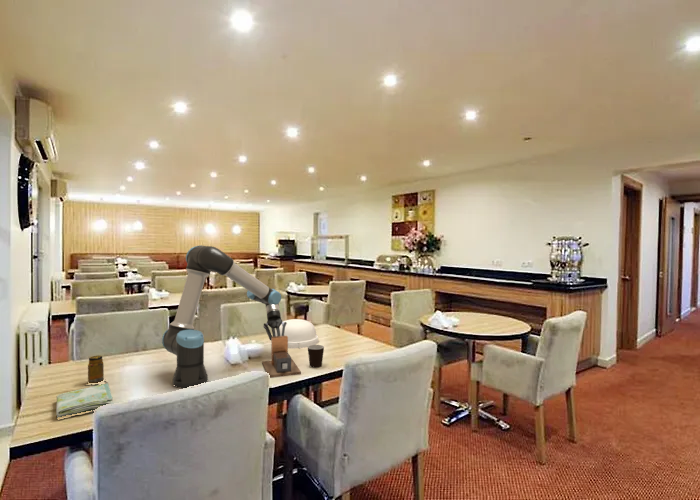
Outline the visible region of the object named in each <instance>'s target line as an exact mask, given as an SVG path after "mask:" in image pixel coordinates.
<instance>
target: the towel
mask: <svg viewBox="0 0 700 500" xmlns="http://www.w3.org/2000/svg"><path fill="white" fill-rule="evenodd" d="M111 401H113V396H112V392H111V389H110V386H109V382H107V383H106V384H101V385H92V386H90V387H89V386H88V387H86V388H81V389H76V390H72V391H68V392H64V393H60V394H58V395H56V407H55V409H56V410H55V412H56V413H55V416H56V415H57V418H58V417H62V416H66V415H72V414H77V413H81V412H86V411H91V410H92V411H93V410H95V409H97V408H98V407H100V406H103V405H106V404H111V405H112V403H111ZM57 418H56V419H57Z"/></svg>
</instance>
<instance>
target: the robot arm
mask: <svg viewBox="0 0 700 500" xmlns="http://www.w3.org/2000/svg"><path fill="white" fill-rule="evenodd" d="M185 262H186V264H187V265H186V266H185V267H186V268H185V270H186V272H187V276H186V279H185V283H184V286H183V290H182V293H181V296H180V300H179V302H178V303H179V304H178V307H177V310H176V314H175V317H174V319H173V321H172V322H171V323H169V326H168V329H167V330H165V331H164V332H163V334H162V337H161V344H162V346H163V348H164V349H165V350H166V351H167V352H169V353H171V354H173V355H175V356H176V368H175V371H174V374H173V379H172V386H173V385H175V386H177V387H176V388H178V387H181V388H180V389H186V388H185V387H189V386H194V385H198V384H201V383H204V382H206V383H207V382H208V381H207V380H209V377H208V376H209V375H208V372H207V369H206V367H205V364H204V363H205V361H204V356H205V354H204V353H205V350H204V348H205V347H204V346H205V344H204V343H205V339H204V334H203V332H202V331H200V330H198V329H195V327H194V320H195V317H196V313H197V310H198V306H199V303H200V302H199V301H200V299H201V296H202V292H203V288H204V284H205V281H206V278H207V277H208V276H210V275H211V271H212V272H215V273H217V274H219V275H220V276H226V277H227V278H228V279H230V280H231V281H232V282H234V283H236V284H237V285H239V286H241V287H242V288H244V289H245V290H247V292H246V297H247V298H248V299H250V300H251V301H254V302H255V301H256V302H258V303H261V304H264V305H265V311H266V318H267V321H266V322H265V323H263V326H262V327H263V328H264V329H265V331H266V333H267V337H268V339H269V341H271V337H275V336H276V334H275V330H277V336H280V329H279V327H280V325H281V324H282V326H283V328H282V335H281V336H284V331H285V326H286V324H287V323H286V322H285V323H284V322H283V319H282V317H281V309H280V302H281V300H282V295H281V293H280V291H277V289H275V288H270V286H269V285H266V284H265V283H264V282H262V281H261V280H260V279H258V278H257V277H255V276H254V275H252V274H251V273H249V272H248V271H246V270H245V269H244V268H243V267H241V266H239V265H238V264H237V263H235V261H234V259H233V258H232V257H230V256H229V255H227V254H226V253H225V252H224V251H222V250H220V249H219V248H218V247H215V246H213V245H211V246H209V245H196V246H193V247H190V249H188V250H187V252H186V255H185ZM270 328H271V330H270ZM175 386H174V387H175Z"/></svg>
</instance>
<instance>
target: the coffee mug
mask: <svg viewBox="0 0 700 500" xmlns="http://www.w3.org/2000/svg"><path fill="white" fill-rule="evenodd" d="M324 349H325V345H321V344H316V345H310V346H308V347H307V354H308V361H309V367H310V368H313V369H315V368H321V367H322V366H323V359H324V351H325V350H324Z"/></svg>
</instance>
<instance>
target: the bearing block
mask: <svg viewBox="0 0 700 500" xmlns="http://www.w3.org/2000/svg"><path fill="white" fill-rule="evenodd" d="M291 359H292V357H291V355H290V353H289V352H280V353H274V368H275V370H276V372H277V373H281V372H290V371H291ZM281 362H287V368H286V369H282V367H281Z"/></svg>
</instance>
